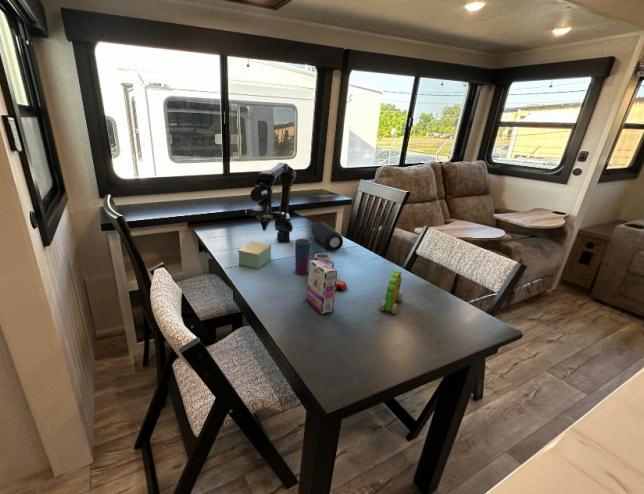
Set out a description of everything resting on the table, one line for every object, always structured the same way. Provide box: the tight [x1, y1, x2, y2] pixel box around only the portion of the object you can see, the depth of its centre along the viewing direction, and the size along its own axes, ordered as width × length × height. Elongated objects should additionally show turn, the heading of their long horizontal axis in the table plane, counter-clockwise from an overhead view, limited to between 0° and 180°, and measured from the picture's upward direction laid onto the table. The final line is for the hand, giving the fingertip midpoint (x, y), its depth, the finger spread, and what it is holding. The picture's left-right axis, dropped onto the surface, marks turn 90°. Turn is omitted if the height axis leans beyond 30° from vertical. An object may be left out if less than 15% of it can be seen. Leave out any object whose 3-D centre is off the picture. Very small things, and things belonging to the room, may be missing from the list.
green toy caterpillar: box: [379, 269, 404, 315], centre depth 112 cm, size 16×5×15 cm, turn 148°
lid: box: [237, 240, 272, 256], centre depth 147 cm, size 13×11×1 cm
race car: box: [335, 278, 348, 292], centre depth 128 cm, size 13×5×4 cm, turn 63°
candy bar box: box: [306, 259, 338, 315], centre depth 111 cm, size 11×5×16 cm, turn 23°
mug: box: [313, 252, 335, 269], centre depth 141 cm, size 10×7×7 cm
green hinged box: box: [238, 246, 272, 270], centre depth 148 cm, size 13×11×7 cm
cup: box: [294, 238, 312, 276], centre depth 137 cm, size 7×7×15 cm
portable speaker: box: [311, 221, 344, 251], centre depth 173 cm, size 26×10×10 cm, turn 13°
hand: (264, 230), depth 153 cm, fingers closed
